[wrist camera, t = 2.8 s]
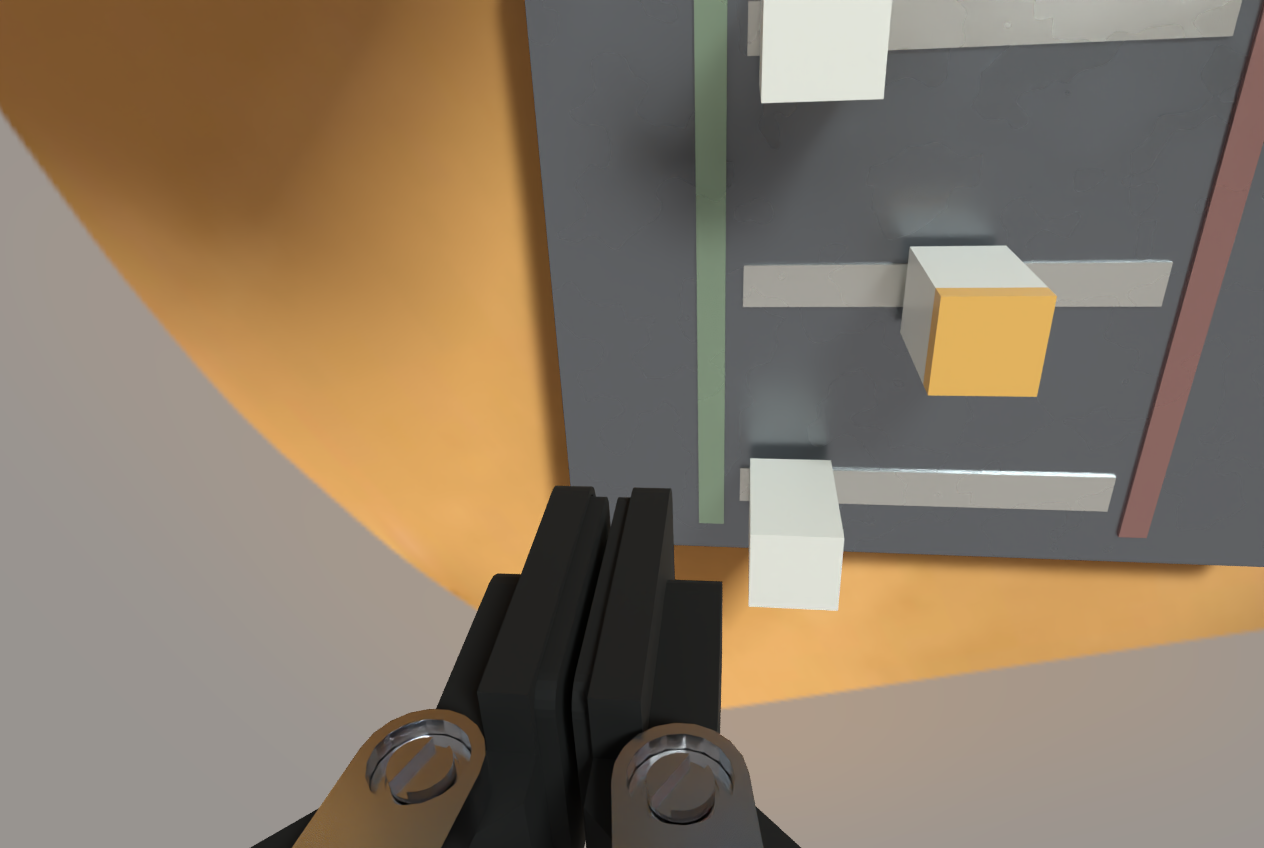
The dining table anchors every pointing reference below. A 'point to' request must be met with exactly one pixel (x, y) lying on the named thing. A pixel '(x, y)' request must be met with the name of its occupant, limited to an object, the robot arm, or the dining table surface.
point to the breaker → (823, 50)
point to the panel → (878, 259)
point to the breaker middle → (975, 321)
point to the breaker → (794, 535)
